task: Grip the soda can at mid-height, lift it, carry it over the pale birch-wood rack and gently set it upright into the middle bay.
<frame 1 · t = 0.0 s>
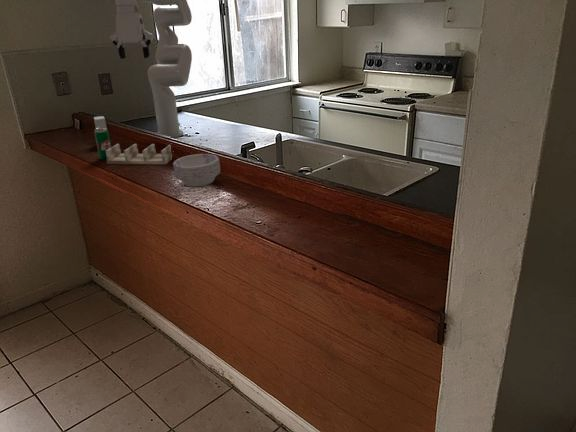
hand: (134, 58, 193), 37 cm above the table, tool pointing down, fingers open, 9 cm apart
skincare box: (104, 145, 218), on the table
can rack: (141, 160, 194), on the table
soda can: (106, 158, 199), on the table
paper bowls: (198, 183, 167), on the table
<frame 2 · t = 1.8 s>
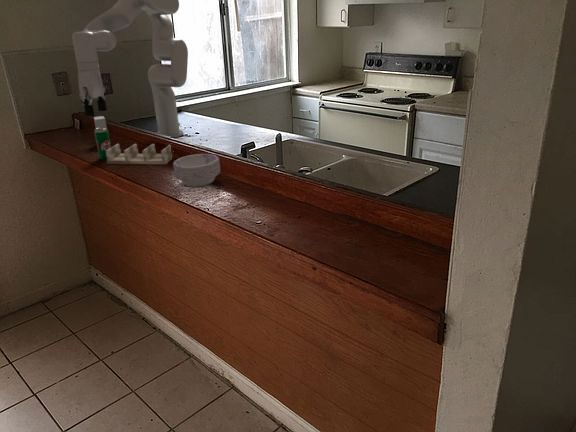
hand: (96, 113, 191), 18 cm above the table, tool pointing down, fingers open, 9 cm apart
nothing on the table moved.
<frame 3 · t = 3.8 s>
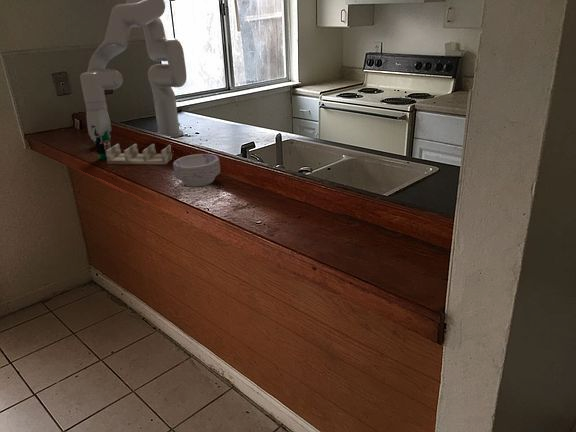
hand: (104, 151, 197), 3 cm above the table, tool pointing down, fingers closed on soda can, 5 cm apart
soda can: (106, 158, 199), on the table, touching gripper
everything else where it was.
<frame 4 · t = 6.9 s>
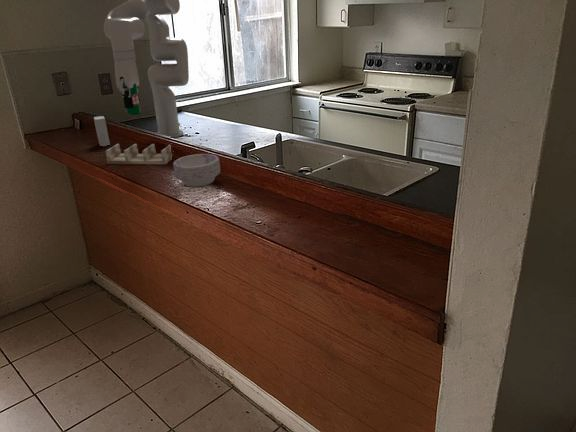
hand: (132, 106, 186), 21 cm above the table, tool pointing down, fingers closed on soda can, 5 cm apart
soda can: (134, 114, 187), point 18 cm above the table, touching gripper
everything else where it was.
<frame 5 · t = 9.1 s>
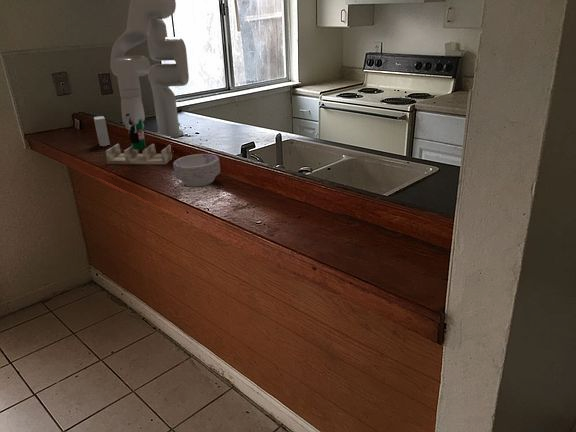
hand: (138, 140, 191), 8 cm above the table, tool pointing down, fingers closed on soda can, 5 cm apart
soda can: (139, 148, 192), point 5 cm above the table, touching gripper
everything else where it was.
when the fingers open (5 cm above the table, at t = 10.5 s): soda can drops 1 cm, resting on can rack.
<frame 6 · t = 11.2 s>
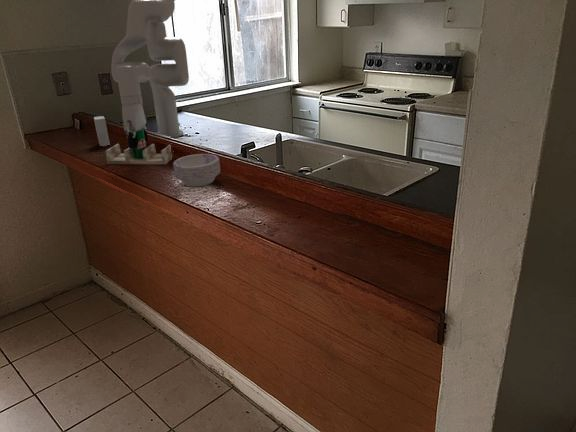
hand: (139, 144, 191), 6 cm above the table, tool pointing down, fingers open, 9 cm apart
soda can: (141, 157, 194), point 1 cm above the table, touching can rack
everything else where it was.
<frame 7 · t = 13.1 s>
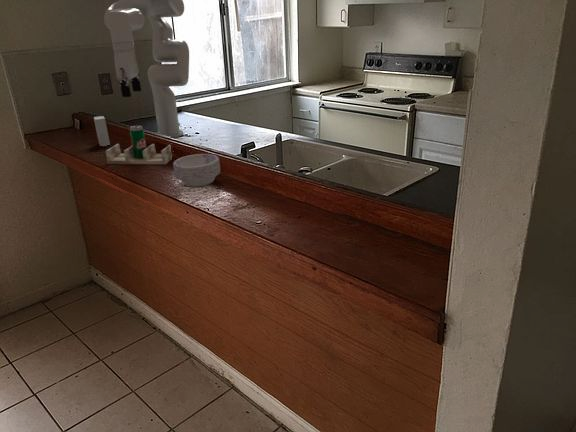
hand: (132, 93, 190), 25 cm above the table, tool pointing down, fingers open, 9 cm apart
nothing on the table moved.
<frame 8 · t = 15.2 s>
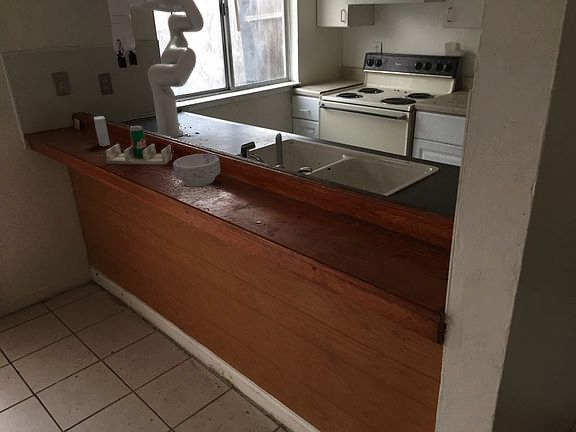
hand: (128, 66, 199), 33 cm above the table, tool pointing down, fingers open, 9 cm apart
nothing on the table moved.
at the end: soda can 0.1 cm off-centre on the can rack, point 1.0 cm above the can rack's base; soda can tilted 0°; the gripper is holding nothing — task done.
